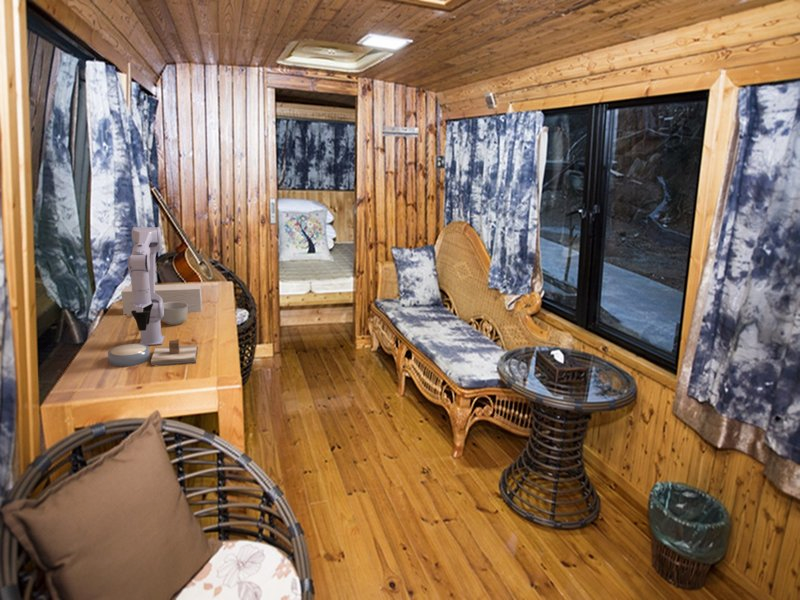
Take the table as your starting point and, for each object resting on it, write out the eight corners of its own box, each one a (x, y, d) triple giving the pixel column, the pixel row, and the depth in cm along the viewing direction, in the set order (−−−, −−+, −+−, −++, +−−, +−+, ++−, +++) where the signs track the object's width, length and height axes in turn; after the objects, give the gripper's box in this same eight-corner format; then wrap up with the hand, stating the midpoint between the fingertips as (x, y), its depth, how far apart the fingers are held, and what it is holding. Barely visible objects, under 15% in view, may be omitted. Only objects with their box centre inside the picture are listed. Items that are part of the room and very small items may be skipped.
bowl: (112, 354, 202) (111, 344, 201) (152, 352, 205) (151, 342, 204) (105, 367, 190) (104, 357, 189) (147, 365, 193) (146, 354, 192)
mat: (157, 350, 207) (157, 348, 207) (197, 347, 211) (197, 346, 211) (151, 366, 192) (151, 364, 192) (195, 363, 196) (195, 361, 196)
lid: (155, 349, 206) (154, 336, 205) (196, 347, 210) (196, 334, 208) (151, 363, 193) (149, 349, 192) (194, 360, 197) (193, 346, 196)
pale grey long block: (123, 315, 248) (121, 291, 245) (127, 309, 258) (125, 285, 255) (201, 312, 257) (199, 288, 254) (202, 305, 266) (201, 283, 264)
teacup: (182, 317, 247) (181, 300, 245) (193, 323, 239) (191, 305, 237) (149, 323, 237) (148, 305, 235) (159, 330, 230) (157, 310, 228)
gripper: (131, 285, 202) (134, 322, 205) (124, 294, 188) (128, 333, 191) (153, 284, 204) (156, 321, 207) (147, 293, 190) (150, 332, 193)
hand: (144, 327), depth 199 cm, fingers open, 7 cm apart
